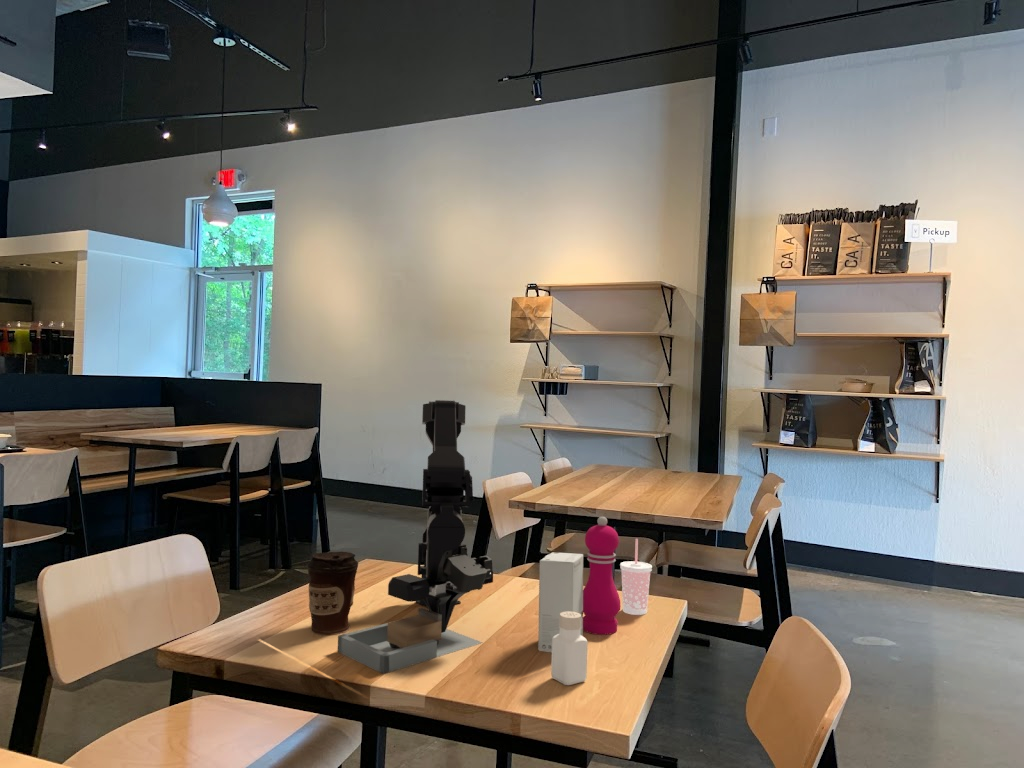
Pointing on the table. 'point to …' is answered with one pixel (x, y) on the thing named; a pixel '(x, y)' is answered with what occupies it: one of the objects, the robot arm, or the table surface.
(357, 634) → the dock
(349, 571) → the coffee cup
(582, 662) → the salt shaker
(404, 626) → the block
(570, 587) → the skincare box
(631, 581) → the beverage cup
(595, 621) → the pepper mill
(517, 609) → the table surface
